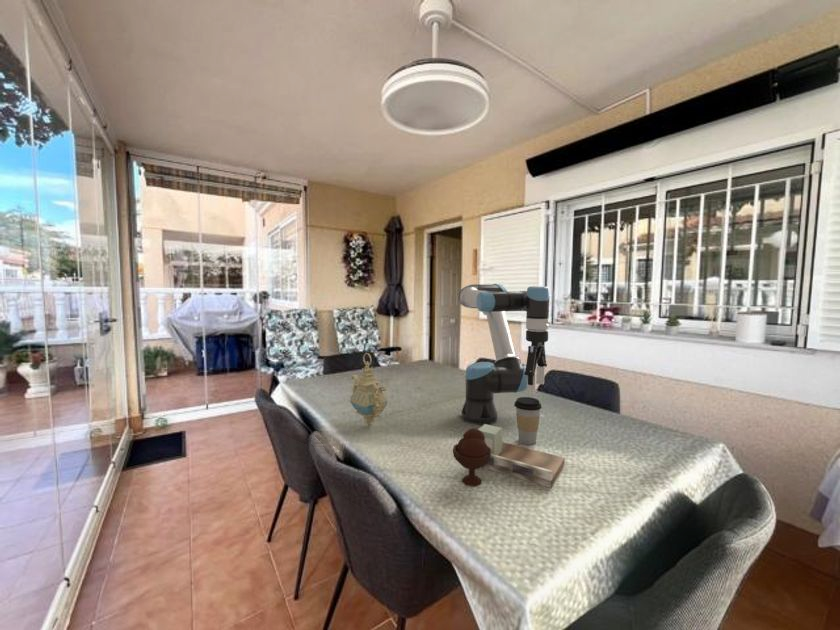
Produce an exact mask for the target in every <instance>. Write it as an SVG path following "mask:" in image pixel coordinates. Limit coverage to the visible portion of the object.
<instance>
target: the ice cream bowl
mask: <svg viewBox="0 0 840 630" xmlns="http://www.w3.org/2000/svg"><path fill="white" fill-rule="evenodd" d="M478 429H479V428H469V429H468V430H467V431H465V432H464V433H463V436H462V438H460V439H459V440H458V443H456V444H455V445H453V448H452V453H453V457H454V459H455V460H456V461H457V463H459V465H461V466H462V467H463V468H464V469H467V470H468V474H467V475H464V476H463V477H462V481H461V482H462V483H463V484H464V485H465V486H468V487H478V486H480V485H481V484H482V479H481V477H479V475H476V470H479V469H481V468H484V467H483V466H484V465H486V464H487V463H488V461H489V459H490V455H491V448H489V447H488V446H487V444H486V443H485V437H484V434H483V433H482V432H481V431H480V430H478Z"/></svg>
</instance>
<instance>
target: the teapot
mask: <svg viewBox="0 0 840 630" xmlns="http://www.w3.org/2000/svg"><path fill="white" fill-rule="evenodd" d="M366 355H368V357H369V361H368V360H367V361H366V360H365V356H366ZM362 359H363V360H362V361H363V364H364V367H361V369H362V373H360V374H361V377H360V379H359V376H358V375H357V374H352V375H351V380H354V384H353V388H352V395H351V396H350V400H349V401H350V404H351V406H352V407H353V408H354V409H355V410H356V411H355V413H356V414H358V415H360V416H362V417H363V419H364V420H365V424H366V426H367V427H368V426H369V427H368V428H370V427H373V424H372V423H373V422H374V420H375V419H376V418H380V417H381V414H382V412H383V411H384V409H385V408H386V407H387V405H388V399H387V396H386V395H385V393H383V392H385V391H387V387H386V385H381V386H379V387H378V385H380V384H381V382H380V381H378V380H376V377H375V376H374V375H375V373H373V372H374V369H373V366H371V365H372V360H373V359H372V356H371V354H370V353H368V352H365V353H364V354H363V356H362ZM370 366H371V367H370Z"/></svg>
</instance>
